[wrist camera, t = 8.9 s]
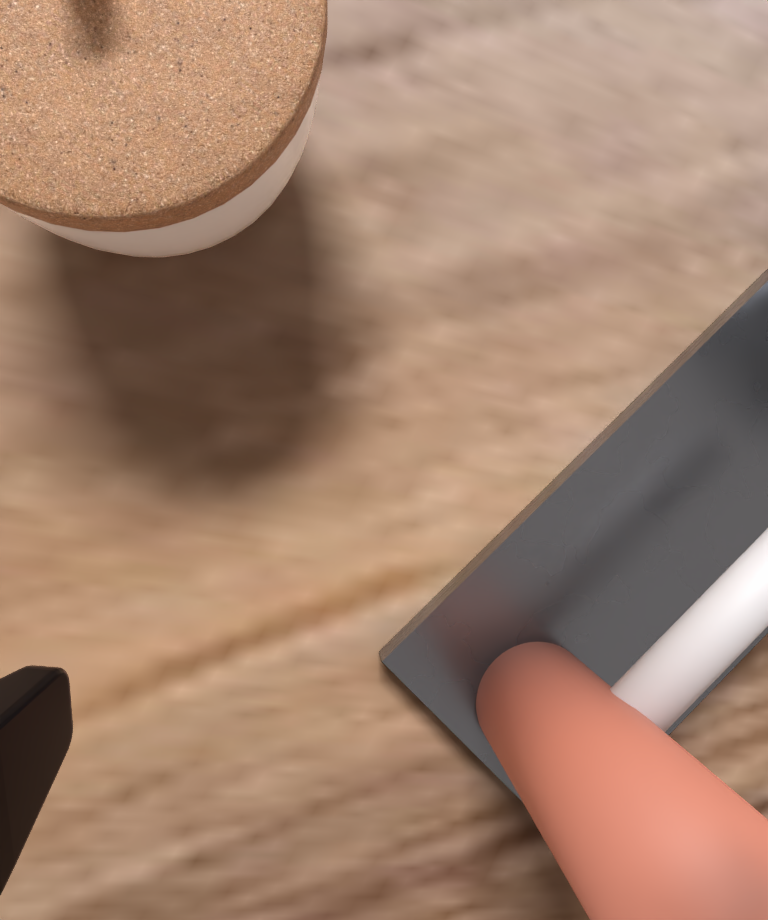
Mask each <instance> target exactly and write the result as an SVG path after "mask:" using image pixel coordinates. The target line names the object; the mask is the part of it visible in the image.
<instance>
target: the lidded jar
mask: <svg viewBox="0 0 768 920" xmlns="http://www.w3.org/2000/svg"><path fill="white" fill-rule="evenodd" d="M326 37H327V0H0V203H1V204H3V205H4V206H6V207H8V208H9V209H11V210H12V211H14V212H15V213H17V214H18V215H20V216H22V217H23V218H25V219H27V220H29V221H31V222H32V223H34V224H36V225H38V226H40V227H42V228H44V229H46V230H48V231H50V232H52V233H54V234H56V235H58V236H61V237H63V238H65V239H68V240H70V241H73V242H76V243H79V244H82V245H85V246H88V247H90V248H93V249H96V250H101V251H106V252H112V253H117V254H123V255H128V256H134V257H169V256H177V255H185V254H189V253H193V252H196V251H200V250H203V249H207V248H210V247H212V246H215V245H217V244H219V243H221V242H223V241H225V240H227V239H229V238H231V237H233V236H235V235H236V234H238V233H239V232H241V231H242V230H244V229H245V228H246V227H248V226H249V225H251V224H252V223H254V222H255V221H256V220H257V219H258V218H259V217H260V216H261V215H262V214H263V213H264V212H265V211H266V210H267V209H268V208H269V207H270V206H271V205H272V204H273V202H274V201H275V200H276V198H277V197H278V196H279V194H280V193H281V191H282V190H283V189H284V187H285V186H286V184H287V183H288V181H289V179H290V177H291V176H292V174H293V172H294V170H295V168H296V166H297V164H298V162H299V160H300V158H301V156H302V154H303V151H304V148H305V145H306V141H307V138H308V135H309V132H310V129H311V125H312V122H313V118H314V115H315V109H316V103H317V96H318V89H319V82H320V74H321V70H322V63H323V57H324V50H325V43H326Z"/></svg>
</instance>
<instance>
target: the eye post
mask: <svg viewBox="0 0 768 920" xmlns="http://www.w3.org/2000/svg"><path fill="white" fill-rule="evenodd" d="M767 528H768V269H767V270H766V271H765V272H764V273H763V274H762V275H761V276H760V277H759V278H758V279H757V280H756V281H755V282H754V283H753V284H752V285H751V286H750V287H749V288H748V289H747V290H746V291H745V292H744V293H743V294H742V295H741V296H740V297H739V298H738V299H737V300H736V301H735V302H734V303H733V304H732V305H731V306H730V307H728V308H727V309H726V310H725V311H724V312H723V313H722V314H721V315H720V316H719V317H718V318H717V319H716V320H715V321H714V322H713V323H712V324H711V325H710V326H709V327H708V328H707V329H706V330H705V331H704V332H703V333H702V334H701V335H700V336H699V337H698V338H697V339H696V340H695V341H694V342H693V343H692V344H691V345H690V346H689V347H688V348H687V349H686V350H685V351H684V352H683V353H682V354H681V355H680V356H679V357H678V358H677V359H676V360H675V361H674V362H673V363H672V364H671V365H670V366H669V367H668V368H667V369H666V370H665V371H664V372H663V373H661V374H660V375H659V376H658V377H657V378H656V379H655V380H654V381H653V382H652V383H651V384H650V385H649V386H648V387H647V388H646V389H645V390H644V391H643V392H642V393H641V394H640V395H639V396H638V397H637V398H636V399H635V400H634V401H633V402H632V403H631V404H630V405H629V406H628V407H627V408H626V409H625V410H624V411H623V412H622V413H621V414H620V415H619V416H618V417H617V418H616V419H615V420H614V421H613V422H612V423H611V424H610V425H609V426H608V427H607V428H606V429H605V430H604V431H603V432H602V433H601V434H600V435H599V436H598V437H597V438H596V439H594V440H593V441H592V442H591V443H590V444H589V445H588V446H587V447H586V448H585V449H584V450H583V451H582V452H581V453H580V454H579V455H578V456H577V457H576V458H575V459H574V460H573V461H572V462H571V463H570V464H569V465H568V466H567V467H566V468H565V469H564V470H563V471H562V472H561V473H560V474H559V475H558V476H557V477H556V478H555V479H554V480H553V481H552V482H551V483H550V484H549V485H548V486H547V487H546V488H545V489H544V490H543V491H542V492H541V493H540V494H539V495H538V496H537V497H536V498H535V499H534V500H533V501H532V502H531V503H530V504H529V505H528V506H526V507H525V508H524V509H523V510H522V511H521V512H520V513H519V514H518V515H517V516H516V517H515V518H514V519H513V520H512V521H511V522H510V523H509V524H508V525H507V526H506V527H505V528H504V529H503V530H502V531H501V532H500V533H499V534H498V535H497V536H496V537H495V538H494V539H493V540H492V541H491V542H490V543H489V544H488V545H487V546H486V547H485V548H484V549H483V550H482V551H481V552H480V553H479V554H478V555H477V556H476V557H475V558H474V559H473V560H472V561H471V562H470V563H469V564H468V565H467V566H466V567H465V568H464V569H463V570H462V571H461V572H459V573H458V574H457V575H456V576H455V577H454V578H453V579H452V580H451V581H450V582H449V583H448V584H447V585H446V586H445V587H444V588H443V589H442V590H441V591H440V592H439V593H438V594H437V595H436V596H435V597H434V598H433V599H432V600H431V601H430V602H429V603H428V604H427V605H426V606H425V607H424V608H423V609H422V610H421V611H420V612H419V613H418V614H417V615H416V616H415V617H414V618H413V619H412V620H411V621H410V622H409V623H408V624H407V625H406V626H405V627H404V628H403V629H402V630H401V631H400V632H399V633H398V634H397V635H396V636H395V637H394V638H393V639H391V640H390V641H389V642H388V643H387V644H386V645H385V646H384V647H383V648H382V649H381V650H380V651H379V654H380V657H381V660H382V662H383V663H384V664H385V665H386V666H387V667H388V668H389V669H390V670H391V671H392V672H393V673H394V674H395V675H396V676H397V677H398V678H399V679H400V680H401V681H402V682H403V683H404V684H405V685H406V686H407V687H408V688H409V689H410V690H411V691H412V692H413V693H414V694H415V695H416V696H417V697H418V698H419V699H420V700H421V701H422V702H423V703H424V704H425V705H426V706H427V707H428V708H429V709H430V710H431V711H432V712H433V713H434V714H435V715H436V716H437V717H438V718H439V719H440V720H441V721H442V722H443V723H444V724H445V725H446V726H447V727H448V728H449V729H450V730H451V731H452V732H453V733H454V734H455V735H456V736H457V737H458V738H459V739H460V740H461V741H462V742H463V743H464V744H465V745H466V746H467V747H468V748H469V749H470V750H471V751H472V752H473V753H474V754H475V755H476V756H477V757H478V758H479V759H480V760H481V761H482V762H483V763H484V764H485V765H486V766H487V767H488V768H489V769H490V770H491V771H492V772H493V773H494V774H495V775H496V776H497V777H498V778H499V779H500V780H501V781H502V782H503V783H504V784H505V785H506V786H507V787H508V788H509V789H510V790H511V791H512V792H513V793H514V794H515V795H516V796H517V797H518V798H519V799H520V800H521V798H520V796H519V794H518V793H517V791H516V789H515V787H514V786H513V784H512V782H511V780H510V779H509V777H508V775H507V773H506V772H505V770H504V768H503V766H502V765H501V763H500V761H499V759H498V758H497V756H496V754H495V752H494V751H493V749H492V747H491V745H490V744H489V742H488V740H487V738H486V737H485V735H484V733H483V731H482V729H481V727H480V724H479V721H478V718H477V712H476V697H477V691H478V687H479V684H480V682H481V679H482V677H483V675H484V673H485V672H486V670H487V669H488V667H489V666H490V665H491V663H492V662H493V661H494V660H495V659H496V658H497V657H499V656H500V655H501V654H502V653H504V652H505V651H507V650H508V649H510V648H512V647H514V646H517V645H520V644H523V643H528V642H547V643H552V644H555V645H558V646H560V647H562V648H564V649H566V650H568V651H569V652H570V653H572V654H573V655H574V656H575V657H577V658H578V659H579V660H580V661H581V662H582V663H584V664H585V665H586V666H587V667H588V668H590V669H591V670H592V671H593V672H594V673H595V674H597V675H598V676H599V677H600V678H601V679H602V680H604V681H605V682H606V683H607V684H608V685H610V686H611V687H612V686H613V685H614V684H615V683H616V682H617V681H618V680H619V679H620V678H621V677H622V676H623V675H624V674H625V673H626V672H627V671H628V670H629V669H630V668H631V667H632V666H633V665H634V664H635V663H636V662H637V661H638V660H639V659H640V658H641V657H642V656H643V655H644V654H645V653H646V652H647V651H648V650H649V649H650V648H651V646H652V645H653V644H654V643H655V642H656V641H657V640H658V639H659V638H660V637H661V636H662V635H663V634H664V633H665V632H666V631H667V630H668V629H669V628H670V627H671V626H672V625H673V624H674V623H675V622H676V621H677V620H678V619H679V618H680V617H681V616H682V615H683V614H684V613H685V612H686V611H687V610H688V609H689V608H690V607H691V606H692V605H693V604H694V603H695V602H696V601H697V600H698V599H699V598H700V597H701V596H702V595H703V594H704V593H705V591H706V590H707V589H708V588H709V587H710V586H711V585H712V584H713V583H714V582H715V581H716V580H717V579H718V578H719V577H720V576H721V575H722V574H723V573H724V572H725V571H726V570H727V569H728V568H729V567H730V566H731V565H732V564H733V563H734V562H735V561H736V560H737V559H738V558H739V557H740V556H741V555H742V554H743V553H744V552H745V551H746V550H747V549H748V548H749V547H750V546H751V545H752V544H753V543H754V542H755V541H756V540H757V539H758V538H759V536H760V535H761V534H762V533H763V532H764V531H765V530H766V529H767ZM767 633H768V626H767V627H766V628H765V629H764V630H763V631H762V633H761V634H760V635H759V636H758V637H757V638H756V639H755V640H754V641H753V642H752V643H751V644H750V645H749V646H748V647H747V648H746V649H745V650H744V651H743V652H742V653H741V654H740V655H739V656H738V657H737V658H736V659H735V660H734V661H733V662H732V663H731V664H730V666H729V667H728V668H727V669H726V670H725V671H724V672H723V673H722V674H721V675H720V676H719V677H718V678H717V679H716V680H715V681H714V682H713V683H712V684H711V685H710V686H709V687H708V688H707V689H706V690H705V691H704V692H703V693H702V694H701V695H700V696H699V697H698V699H697V700H696V701H695V702H694V703H693V704H692V705H691V706H690V707H689V708H688V709H687V710H686V711H685V712H684V713H683V714H682V715H681V716H680V717H679V718H678V719H677V720H676V721H675V722H674V723H673V724H672V725H671V726H670V727H669V728H668V729H667V730H666V732H665V733H666V734H667V735H669V734H670V733H671V732H672V731H673V730H674V729H675V728H676V727H677V726H678V725H679V724H680V723H681V722H682V721H683V720H684V719H685V718H686V717H687V716H688V715H689V714H690V713H691V712H692V710H693V709H694V708H695V707H696V706H697V705H698V704H699V703H700V702H701V701H702V700H703V699H704V698H705V697H706V696H707V695H708V694H709V693H710V692H711V691H712V690H713V689H714V688H715V687H716V686H717V685H718V684H719V683H720V682H721V681H722V680H723V678H724V677H725V676H726V675H727V674H728V673H729V672H730V671H731V670H732V669H733V668H734V667H735V666H736V665H737V664H738V663H739V662H740V661H741V660H742V659H743V658H744V657H745V656H746V655H747V654H748V653H749V652H750V651H751V650H752V649H753V648H754V647H755V645H756V644H757V643H758V642H759V641H760V640H761V639H762V638H763V637H764V636H765V635H766V634H767ZM521 801H522V800H521ZM522 802H523V801H522Z"/></svg>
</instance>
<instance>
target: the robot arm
mask: <svg viewBox="0 0 768 920" xmlns="http://www.w3.org/2000/svg"><path fill="white" fill-rule="evenodd" d="M72 733H73V720H72V708H71V696H70V683H69V677H68V674H67V672H66V671H65V670H63V669H62V668H59V667H46V666H26V667H23V668H21V669H19V670H17V671H15V672H13V673H11V674H9V675H7V676H5V677H3V678H1V679H0V895H1V893H2V891H3V889H4V887H5V885H6V883H7V881H8V879H9V877H10V875H11V873H12V871H13V869H14V867H15V865H16V862H17V860H18V858H19V856H20V854H21V851H22V849H23V847H24V845H25V843H26V841H27V838H28V836H29V834H30V832H31V830H32V828H33V825H34V823H35V821H36V819H37V817H38V814H39V812H40V810H41V808H42V806H43V804H44V801H45V799H46V797H47V795H48V793H49V790H50V788H51V786H52V784H53V782H54V780H55V777H56V775H57V773H58V771H59V769H60V766H61V764H62V762H63V760H64V758H65V756H66V753H67V751H68V749H69V746H70V743H71V739H72Z"/></svg>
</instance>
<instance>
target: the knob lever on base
mask: <svg viewBox="0 0 768 920" xmlns="http://www.w3.org/2000/svg"><path fill="white" fill-rule="evenodd" d="M767 626H768V528H767V529H766V530H765V531H764V532H763V533H762V534H761V535H760V536H759V538H758V539H757V540H756V541H755V542H754V543H753V544H752V545H751V546H750V547H749V548H748V549H747V550H746V551H745V552H744V553H743V554H742V555H741V556H740V557H739V558H738V559H737V560H736V561H735V562H734V563H733V564H732V565H731V566H730V567H729V568H728V569H727V570H726V571H725V572H724V573H723V574H722V575H721V576H720V577H719V578H718V579H717V580H716V581H715V582H714V583H713V584H712V585H711V586H710V587H709V588H708V589H707V590H706V591H705V593H704V594H703V595H702V596H701V597H700V598H699V599H698V600H697V601H696V602H695V603H694V604H693V605H692V606H691V607H690V608H689V609H688V610H687V611H686V612H685V613H684V614H683V615H682V616H681V617H680V618H679V619H678V620H677V621H676V622H675V623H674V624H673V625H672V626H671V627H670V628H669V629H668V630H667V631H666V632H665V633H664V634H663V635H662V636H661V637H660V638H659V639H658V640H657V641H656V642H655V643H654V644H653V645H652V646H651V648H650V649H649V650H648V651H647V652H646V653H645V654H644V655H643V656H642V657H641V658H640V659H639V660H638V661H637V662H636V663H635V664H634V665H633V666H632V667H631V668H630V669H629V670H628V671H627V672H626V673H625V674H624V675H623V676H622V677H621V678H620V679H619V680H618V681H617V682H616V683H615V684H614V685H613V686H612V687H611V686H610V685H608V684H607V683H606V682H605V681H604V680H602V679H601V678H600V677H599V676H598V675H597V674H595V673H594V672H593V671H592V670H591V669H590V668H588V667H587V666H586V665H585V664H584V663H582V662H581V661H580V660H579V659H578V658H577V657H575V656H574V655H573V654H572V653H570V652H569V651H568V650H566V649H564V648H562V647H560V646H558V645H555V644H552V643H547V642H528V643H523V644H520V645H517V646H514V647H512V648H510V649H508V650H507V651H505V652H504V653H502V654H501V655H500V656H499V657H497V658H496V659H495V660H494V661H493V662H492V663H491V665H490V666H489V667H488V669H487V670H486V672H485V673H484V675H483V677H482V679H481V682H480V684H479V687H478V691H477V697H476V712H477V718H478V721H479V724H480V727H481V729H482V731H483V733H484V735H485V737H486V738H487V740H488V742H489V744H490V745H491V747H492V749H493V751H494V752H495V754H496V756H497V758H498V759H499V761H500V763H501V765H502V766H503V768H504V770H505V772H506V773H507V775H508V777H509V779H510V780H511V782H512V784H513V786H514V787H515V789H516V791H517V793H518V794H519V796H520V798H521V800H522V801H523V803H524V805H525V807H526V808H527V810H528V812H529V814H530V815H531V817H532V819H533V821H534V822H535V824H536V826H537V828H538V829H539V831H540V833H541V835H542V836H543V838H544V840H545V842H546V843H547V845H548V847H549V849H550V850H551V852H552V854H553V856H554V857H555V859H556V861H557V863H558V865H559V866H560V868H561V870H562V872H563V873H564V875H565V877H566V879H567V880H568V882H569V884H570V886H571V887H572V889H573V891H574V893H575V894H576V896H577V898H578V900H579V901H580V903H581V905H582V907H583V908H584V910H585V912H586V914H587V915H588V917H589V919H590V920H768V819H766V818H765V817H764V816H763V815H762V814H760V813H759V812H758V811H757V810H756V809H755V808H753V807H752V806H751V805H750V804H749V803H747V802H746V801H745V800H744V799H743V798H742V797H740V796H739V795H738V794H737V793H736V792H735V791H733V790H732V789H731V788H730V787H729V786H727V785H726V784H725V783H724V782H723V781H722V780H720V779H719V778H718V777H717V776H716V775H714V774H713V773H712V772H711V771H710V770H709V769H707V768H706V767H705V766H704V765H703V764H702V763H700V762H699V761H698V760H697V759H696V758H694V757H693V756H692V755H691V754H690V753H689V752H687V751H686V750H685V749H684V748H683V747H681V746H680V745H679V744H678V743H677V742H676V741H674V740H673V739H672V738H671V737H670V736H669V735H667V734H666V733H665V732H666V730H667V729H668V728H669V727H670V726H671V725H672V724H673V723H674V722H675V721H676V720H677V719H678V718H679V717H680V716H681V715H682V714H683V713H684V712H685V711H686V710H687V709H688V708H689V707H690V706H691V705H692V704H693V703H694V702H695V701H696V700H697V699H698V697H699V696H700V695H701V694H702V693H703V692H704V691H705V690H706V689H707V688H708V687H709V686H710V685H711V684H712V683H713V682H714V681H715V680H716V679H717V678H718V677H719V676H720V675H721V674H722V673H723V672H724V671H725V670H726V669H727V668H728V667H729V666H730V664H731V663H732V662H733V661H734V660H735V659H736V658H737V657H738V656H739V655H740V654H741V653H742V652H743V651H744V650H745V649H746V648H747V647H748V646H749V645H750V644H751V643H752V642H753V641H754V640H755V639H756V638H757V637H758V636H759V635H760V634H761V633H762V631H763V630H764V629H765V628H766V627H767Z"/></svg>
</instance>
